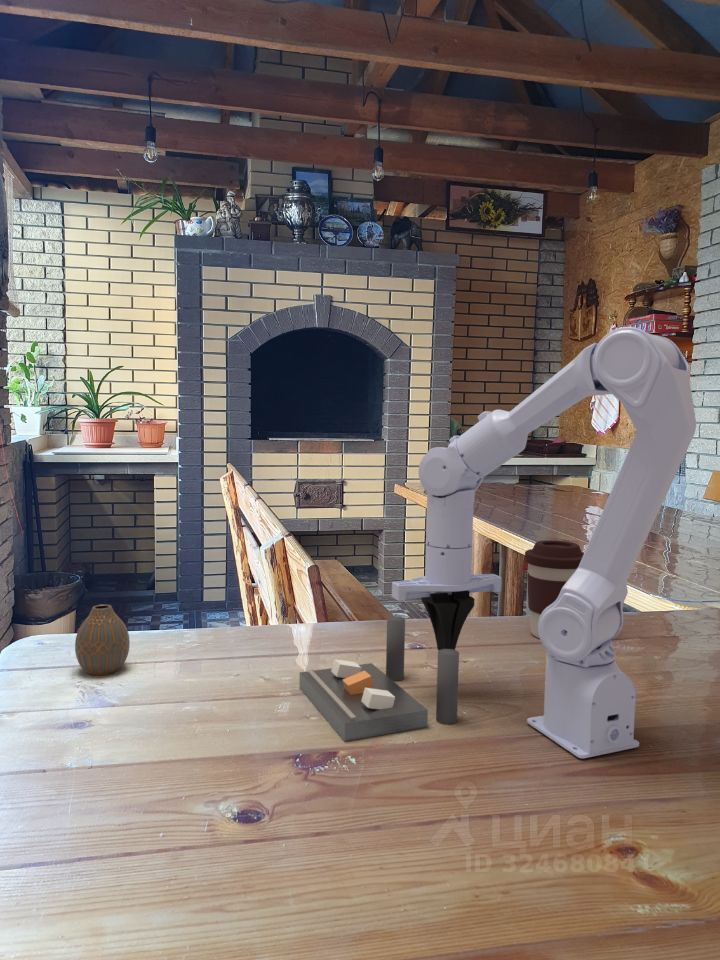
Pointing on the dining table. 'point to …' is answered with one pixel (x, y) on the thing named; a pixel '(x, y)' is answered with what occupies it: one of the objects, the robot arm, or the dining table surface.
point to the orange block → (358, 683)
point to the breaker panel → (361, 705)
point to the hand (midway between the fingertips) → (445, 651)
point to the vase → (102, 642)
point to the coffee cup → (549, 574)
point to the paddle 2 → (377, 698)
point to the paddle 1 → (345, 668)
